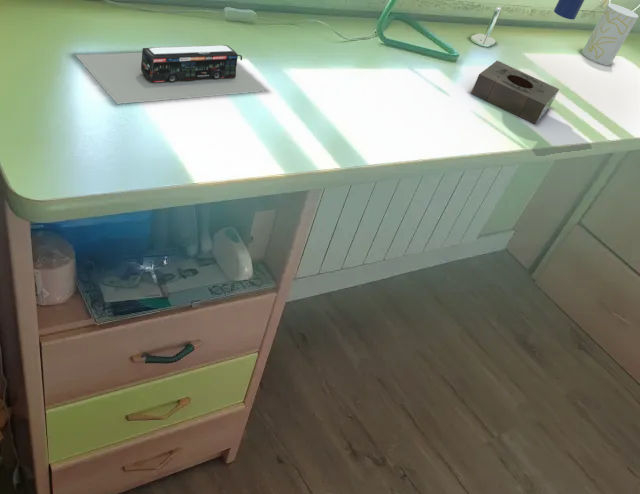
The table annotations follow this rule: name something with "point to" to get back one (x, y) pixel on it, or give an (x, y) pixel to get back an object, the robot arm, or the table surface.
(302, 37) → the table surface
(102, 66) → the toy bus on base
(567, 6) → the bottle
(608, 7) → the cup
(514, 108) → the block
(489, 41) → the stand
